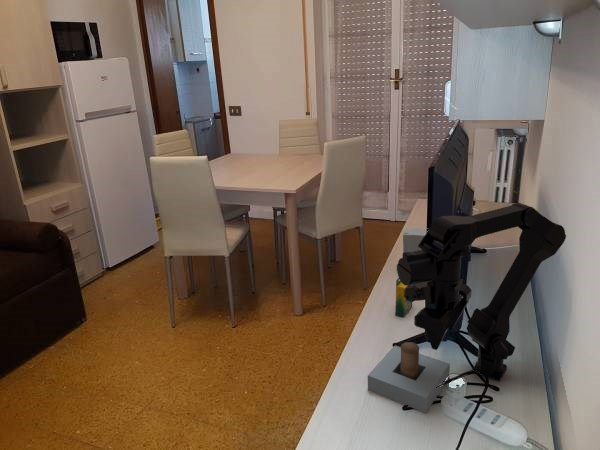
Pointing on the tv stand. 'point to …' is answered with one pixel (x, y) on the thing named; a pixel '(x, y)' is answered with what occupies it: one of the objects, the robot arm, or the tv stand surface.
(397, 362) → the socket block
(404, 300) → the crayon box
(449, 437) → the tv stand surface
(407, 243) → the skincare box
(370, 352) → the tv stand surface
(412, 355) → the walnut peg
